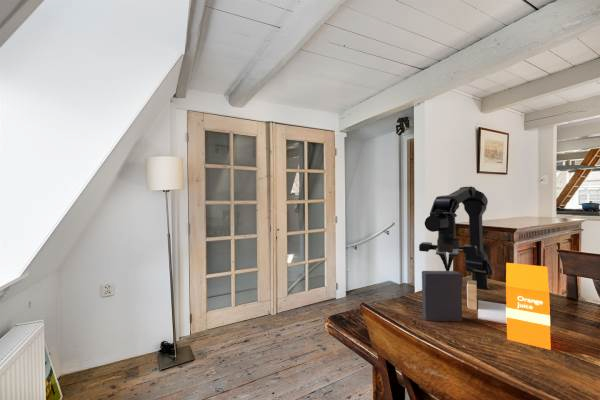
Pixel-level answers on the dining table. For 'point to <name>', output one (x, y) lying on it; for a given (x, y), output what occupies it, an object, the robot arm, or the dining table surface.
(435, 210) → the robot arm
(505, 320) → the mat
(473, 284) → the tile
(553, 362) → the dining table surface
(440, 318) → the charcoal upright rounded slab
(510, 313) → the orange juice
